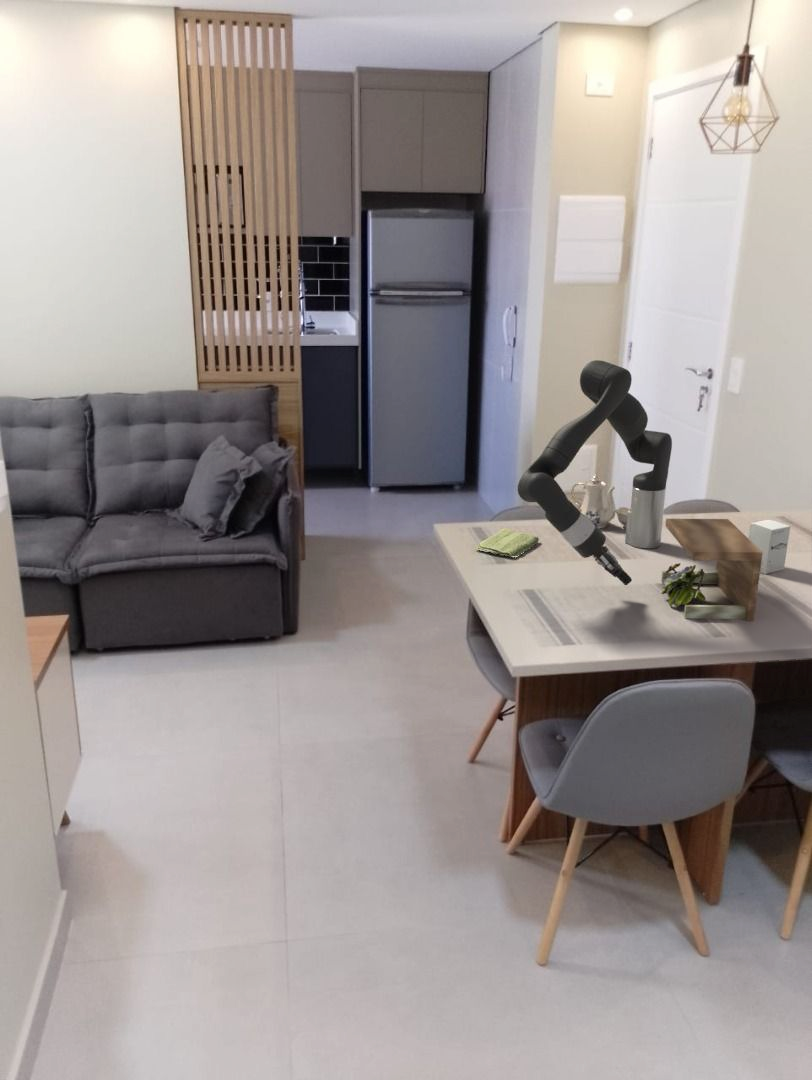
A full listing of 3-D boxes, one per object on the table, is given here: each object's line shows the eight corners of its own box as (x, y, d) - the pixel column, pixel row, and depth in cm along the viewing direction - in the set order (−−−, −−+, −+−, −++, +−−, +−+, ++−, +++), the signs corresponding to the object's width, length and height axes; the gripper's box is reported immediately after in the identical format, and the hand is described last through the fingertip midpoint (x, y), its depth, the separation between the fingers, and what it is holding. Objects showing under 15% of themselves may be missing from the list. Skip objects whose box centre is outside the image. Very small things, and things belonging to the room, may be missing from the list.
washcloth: (473, 552, 252) (473, 542, 251) (503, 536, 266) (503, 526, 264) (513, 562, 245) (514, 551, 244) (542, 544, 258) (543, 534, 257)
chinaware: (650, 532, 273) (658, 479, 269) (622, 539, 261) (630, 484, 257) (574, 513, 292) (580, 464, 287) (545, 519, 280) (551, 467, 276)
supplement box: (765, 575, 234) (771, 529, 230) (743, 566, 240) (749, 522, 236) (784, 570, 237) (791, 525, 233) (762, 561, 243) (768, 518, 239)
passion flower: (668, 616, 222) (675, 570, 225) (711, 619, 215) (718, 572, 218) (650, 603, 214) (658, 556, 217) (694, 606, 207) (702, 558, 210)
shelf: (686, 620, 206) (693, 551, 201) (660, 580, 230) (666, 518, 224) (753, 620, 206) (762, 552, 200) (720, 581, 230) (728, 519, 224)
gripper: (598, 532, 206) (646, 582, 210) (588, 515, 219) (634, 562, 222) (574, 553, 208) (622, 602, 212) (566, 535, 220) (611, 582, 224)
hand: (628, 581), depth 217 cm, fingers closed
